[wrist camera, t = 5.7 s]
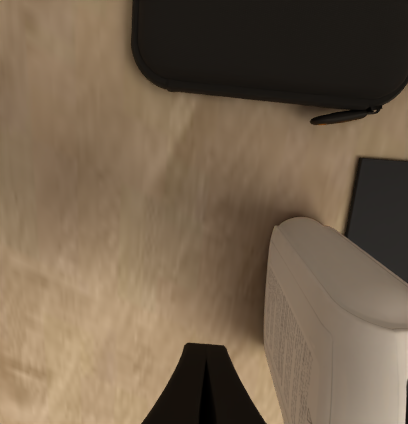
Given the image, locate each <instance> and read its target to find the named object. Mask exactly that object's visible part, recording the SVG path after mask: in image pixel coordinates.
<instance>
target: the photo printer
mask: <svg viewBox="0 0 408 424" xmlns="http://www.w3.org/2000/svg"><path fill="white" fill-rule="evenodd" d="M264 347H265V353H266V358H267V362H268V365H269V369H270V372H271V376H272V379H273V383H274V387H275V390H276V394H277V398H278V401H279V405H280V409H281V412H282V416H283V420H284V424H408V284H407V283H406V282H405V281H403V280H402V279H401V278H400V277H398V276H397V275H396V274H394V273H393V272H392V271H390V270H389V269H387V268H386V267H385V266H384V265H382V264H381V263H380V262H378V261H377V260H376V259H374V258H373V257H372V256H370V255H369V254H368V253H366V252H365V251H364V250H362V249H361V248H360V247H358V246H357V245H356V244H354V243H353V242H352V241H350V240H349V239H348V238H346V237H345V236H343V235H342V234H341V233H339V232H338V231H337V230H335V229H334V228H332V227H330V226H323V225H322V224H320V223H319V222H318V221H316V220H314V219H311V218H307V217H295V218H291V219H288V220H286V221H284V222H282V223H281V224H280V225H279V226H277V225H275V226H274V229H273V232H272V235H271V240H270V245H269V254H268V262H267V278H266V291H265V307H264Z"/></svg>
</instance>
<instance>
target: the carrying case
mask: <svg viewBox="0 0 408 424" xmlns="http://www.w3.org/2000/svg"><path fill="white" fill-rule="evenodd" d="M131 48H132V53H133V57H134V59H135V62H136V64H137V66H138V68H139V69H140V71H141V72H142V74H143V75H144V76H145V77H146V78H147V79H148V80H149V81H150V82H152V83H153V84H155V85H156V86H158V87H161V88H164V89H167V90H168V91H171V92H185V93H195V94H204V95H214V96H223V97H233V98H242V99H251V100H261V101H270V102H280V103H289V104H299V105H308V106H318V107H327V108H337V109H346V110H349V111H342V112H336V113H331V114H326V115H321V116H318V117H315V118H313V119H311V120H310V123H311V124H313V125H326V124H335V123H342V122H348V121H353V120H358V119H361V118H364V117H365V116H366V115H367V114H376V113H378V112H379V111H380V109H382V105H384V104H386V103H388V102H390V101H391V100H393V99H394V98H395V97H396V96H397V95H398V94H399V93H400V92H401V91H402V90H403V89H404V87H405V86H406V85H407V83H408V0H133V7H132V34H131ZM373 110H377V111H376V112H374V111H373ZM372 112H373V113H372Z"/></svg>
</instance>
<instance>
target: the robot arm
mask: <svg viewBox="0 0 408 424" xmlns="http://www.w3.org/2000/svg"><path fill="white" fill-rule="evenodd" d="M141 424H266V422H265V421H264V419H263V418H262V416H261V415H260V413H259V412H258V410H257V408H256V407H255V405H254V404H253V402H252V400H251V399H250V397H249V395H248V393H247V391H246V390H245V388H244V386H243V384H242V382H241V380H240V379H239V377H238V375H237V372H236V370H235V368H234V366H233V364H232V362H231V359H230V357H229V354H228V352H227V349H226V348H225V346H224V345H212V344H199V343H187V344H186V345H184V349H183V352H182V355H181V358H180V360H179V362H178V365H177V367H176V369H175V371H174V373H173V375H172V376H171V378H170V380H169V382H168V384H167V386H166V387H165V389H164V391H163V392H162V394H161V395H160V397H159V399H158V400H157V402H156V403H155V405H154V406H153V408H152V409H151V411H150V412H149V414H148V415H147V417H146V418H145V419H144V421H143V422H142V423H141Z"/></svg>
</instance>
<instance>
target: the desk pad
mask: <svg viewBox="0 0 408 424" xmlns="http://www.w3.org/2000/svg"><path fill="white" fill-rule="evenodd" d="M345 237H346V238H348V239H349V240H350V241H352V242H353V243H354V244H356V245H357V246H358V247H360V248H361V249H362V250H364V251H365V252H366V253H368V254H369V255H370V256H372V257H373V258H374V259H376V260H377V261H378V262H380V263H381V264H382V265H384V266H385V267H386V268H387V269H389V270H390V271H392V272H393V273H394V274H396V275H397V276H398V277H400V278H401V279H402V280H403V281H405V282H406V283H407V284H408V161H395V160H383V159H370V158H359V164H358V169H357V174H356V180H355V185H354V190H353V196H352V201H351V206H350V212H349V217H348V222H347V228H346V233H345Z"/></svg>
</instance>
